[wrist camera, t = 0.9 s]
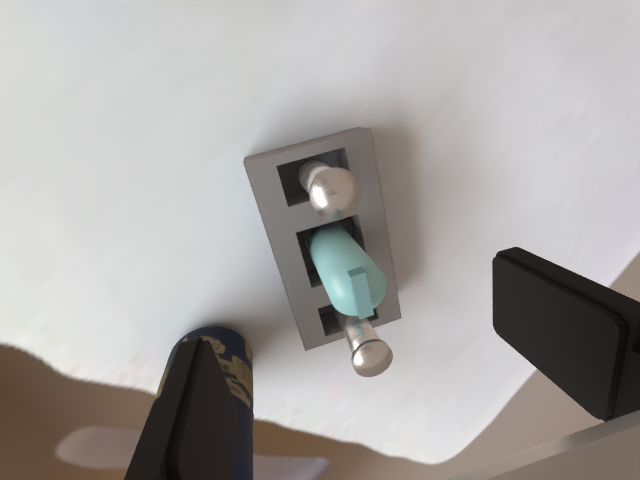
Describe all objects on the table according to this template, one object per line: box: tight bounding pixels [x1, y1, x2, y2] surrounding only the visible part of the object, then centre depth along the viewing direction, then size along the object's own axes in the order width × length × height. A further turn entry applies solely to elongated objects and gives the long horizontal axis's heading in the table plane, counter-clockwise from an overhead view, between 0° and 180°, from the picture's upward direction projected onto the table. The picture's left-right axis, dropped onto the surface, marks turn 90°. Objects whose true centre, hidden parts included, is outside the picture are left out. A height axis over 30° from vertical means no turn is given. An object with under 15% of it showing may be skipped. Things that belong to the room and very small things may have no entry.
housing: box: [244, 128, 401, 351], centre depth 34 cm, size 22×12×4 cm, turn 13°
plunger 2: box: [334, 309, 393, 377], centre depth 33 cm, size 4×4×9 cm
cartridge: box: [305, 221, 387, 319], centre depth 30 cm, size 5×5×13 cm
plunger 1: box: [299, 160, 362, 221], centre depth 27 cm, size 4×4×9 cm
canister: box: [149, 327, 254, 480], centre depth 30 cm, size 10×10×18 cm
